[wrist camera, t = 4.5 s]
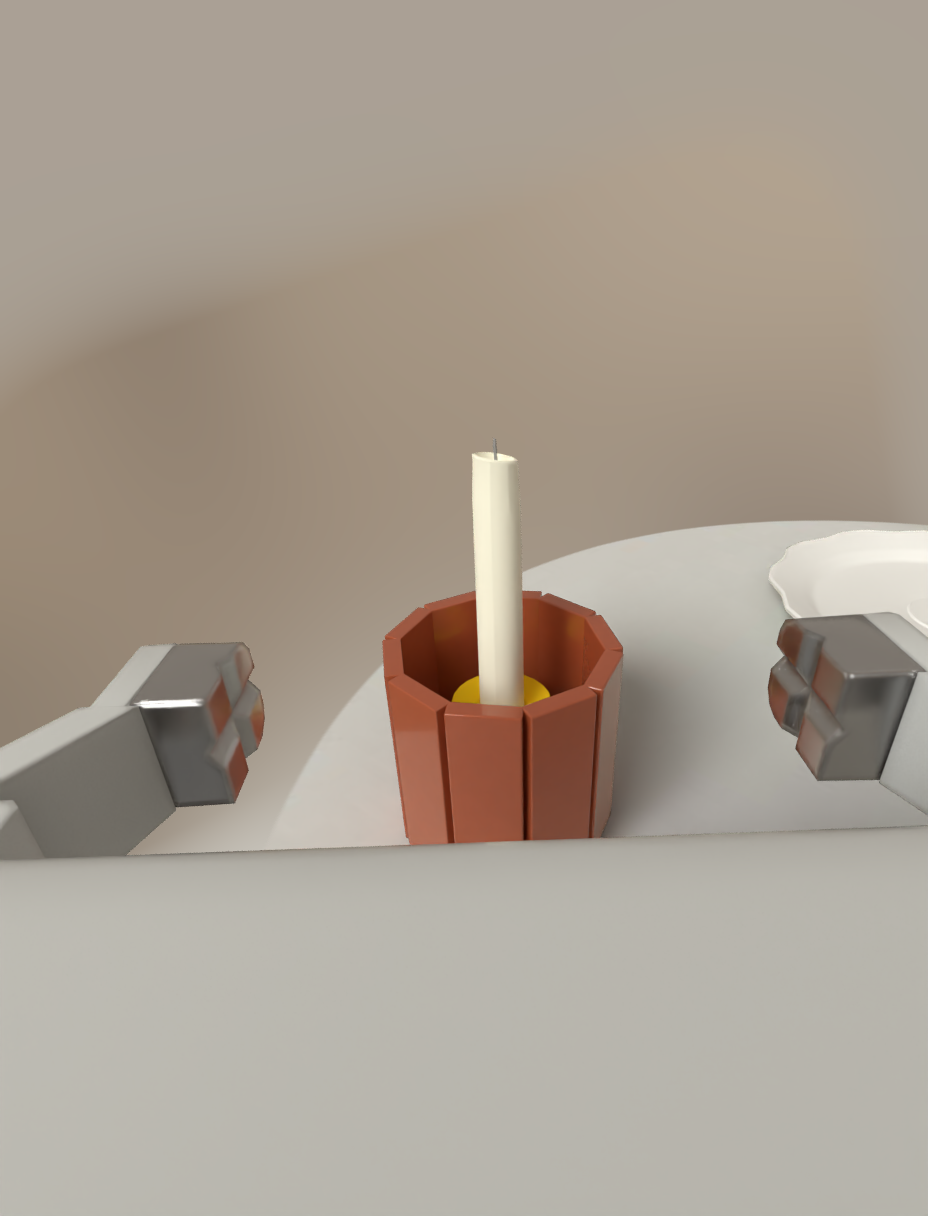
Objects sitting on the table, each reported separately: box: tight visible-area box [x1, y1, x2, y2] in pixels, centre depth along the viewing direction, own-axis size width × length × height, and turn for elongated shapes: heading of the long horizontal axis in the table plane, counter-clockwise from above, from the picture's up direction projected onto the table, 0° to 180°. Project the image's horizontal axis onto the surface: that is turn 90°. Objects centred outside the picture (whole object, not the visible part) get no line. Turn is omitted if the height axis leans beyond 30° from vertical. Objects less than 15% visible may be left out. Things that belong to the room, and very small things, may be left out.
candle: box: [452, 438, 550, 707], centre depth 24 cm, size 5×5×16 cm
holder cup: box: [382, 591, 624, 845], centre depth 25 cm, size 9×9×8 cm
